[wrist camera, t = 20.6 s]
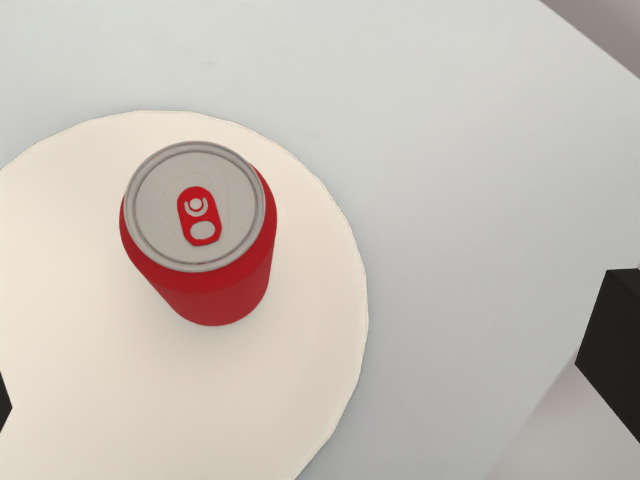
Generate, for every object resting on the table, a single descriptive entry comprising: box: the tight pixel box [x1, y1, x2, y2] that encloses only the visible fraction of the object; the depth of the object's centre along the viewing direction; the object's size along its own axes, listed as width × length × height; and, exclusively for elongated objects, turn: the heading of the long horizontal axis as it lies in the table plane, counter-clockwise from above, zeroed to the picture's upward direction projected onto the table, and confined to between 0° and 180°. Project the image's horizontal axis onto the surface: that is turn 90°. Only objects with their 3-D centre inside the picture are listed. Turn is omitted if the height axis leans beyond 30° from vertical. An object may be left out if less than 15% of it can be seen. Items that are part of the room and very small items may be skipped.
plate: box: [0, 110, 369, 480], centre depth 31 cm, size 25×25×1 cm
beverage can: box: [119, 141, 277, 326], centre depth 25 cm, size 6×6×12 cm
